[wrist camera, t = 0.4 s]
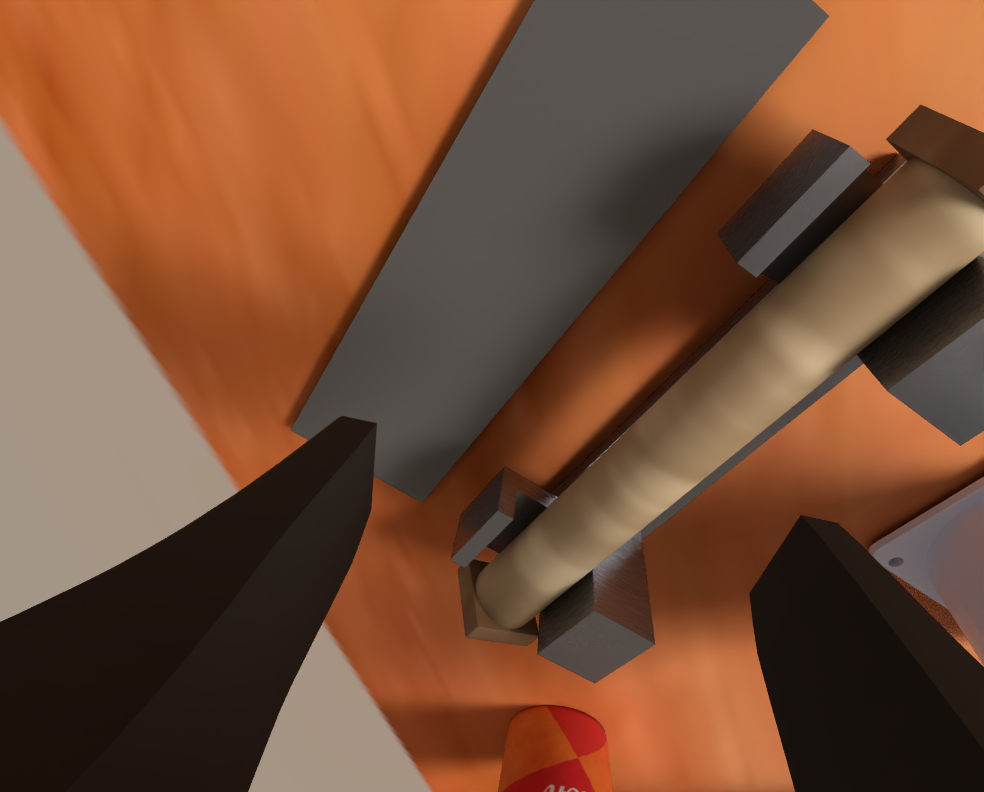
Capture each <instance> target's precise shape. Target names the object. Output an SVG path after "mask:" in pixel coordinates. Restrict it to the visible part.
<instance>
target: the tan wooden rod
mask: <svg viewBox="0 0 984 792" xmlns="http://www.w3.org/2000/svg"><path fill="white" fill-rule="evenodd" d="M886 140H887V141H888V142H889V143H890V144H891V145H892V146H893V147H894V148H895V149H896V150H897V151H898V152H899V153H900V154H901V155H902V156H903V157H904V158H905V159H906V160H907V162H906V163H905V164H904V165H903V166H902V167H901V168H900V169H899V170H898V171H896V172H895V173H894V174H893V175H892V176H891V177H890V178H889V179H888V180H887V181H886V182H885V183H884V184H883V185H882V186H881V187H880V188H879V189H878V190H877V191H876V192H875V193H874V194H873V195H872V196H871V197H869V198H868V199H867V200H866V201H865V202H864V203H863V204H862V205H861V206H860V207H859V208H858V209H857V210H856V211H855V212H854V213H853V214H852V215H851V216H850V217H849V218H848V219H847V220H846V221H845V222H843V223H842V224H841V225H840V226H839V227H838V228H837V229H836V230H835V231H834V232H833V233H832V234H831V235H830V236H829V237H828V238H827V239H826V240H825V241H824V242H823V243H822V244H821V245H820V246H819V247H818V248H816V249H815V250H814V251H813V252H812V253H811V254H810V255H809V256H808V257H807V258H806V259H805V260H804V261H803V262H802V263H801V264H800V265H799V266H798V267H797V268H796V269H795V270H794V271H793V272H792V273H790V274H789V275H788V276H787V277H786V278H785V279H784V280H783V281H782V282H781V283H780V284H779V285H778V286H777V287H776V288H775V289H774V290H773V291H772V292H771V293H770V294H769V295H768V296H767V297H766V298H765V299H763V300H762V301H761V302H760V303H759V304H758V305H757V306H756V307H755V308H754V309H753V310H752V311H751V312H750V313H749V314H748V315H747V316H746V317H745V318H744V319H743V320H742V321H741V322H740V323H739V324H737V325H736V326H735V327H734V328H733V329H732V330H731V331H730V332H729V333H728V334H727V335H726V336H725V337H724V338H723V339H722V340H721V341H720V342H719V343H718V344H717V345H716V346H715V347H714V348H713V349H712V350H710V351H709V352H708V353H707V354H706V355H705V356H704V357H703V358H702V359H701V360H700V361H699V362H698V363H697V364H696V365H695V366H694V367H693V368H692V369H691V370H690V371H689V372H688V373H687V374H686V375H684V376H683V377H682V378H681V379H680V380H679V381H678V382H677V383H676V384H675V385H674V386H673V387H672V388H671V389H670V390H669V391H668V392H667V393H666V394H665V395H664V396H663V397H662V398H661V399H660V400H659V401H657V402H656V403H655V404H654V405H653V406H652V407H651V408H650V409H649V410H648V411H647V412H646V413H645V414H644V415H643V416H642V417H641V418H640V419H639V420H638V421H637V422H636V423H635V424H634V425H633V426H631V427H630V428H629V429H628V430H627V431H626V432H625V433H624V434H623V435H622V436H621V437H620V438H619V439H618V440H617V441H616V442H615V443H614V444H613V445H612V446H611V447H610V448H609V449H608V450H607V451H606V452H604V453H603V454H602V455H601V456H600V457H599V458H598V459H597V460H596V461H595V462H594V463H593V464H592V465H591V466H590V467H589V468H588V469H587V470H586V471H585V472H584V473H583V474H582V475H581V476H580V477H578V478H577V479H576V480H575V481H574V482H573V483H572V484H571V485H570V486H569V487H568V488H567V489H566V490H565V491H564V492H563V493H562V494H561V495H560V496H559V497H558V498H557V499H556V500H555V501H554V502H553V503H551V504H550V505H549V506H548V507H547V508H546V509H545V510H544V511H543V512H542V513H541V514H540V515H539V516H538V517H537V518H536V519H535V520H534V521H533V522H532V523H531V524H530V525H529V526H528V527H527V528H525V529H524V530H523V531H522V532H521V533H520V534H519V535H518V536H517V537H516V538H515V539H514V540H513V541H512V542H511V543H510V544H509V545H508V546H507V547H506V548H505V549H504V550H503V551H502V552H501V553H500V554H498V555H497V556H496V557H495V558H494V559H493V560H492V561H491V562H490V563H487V562H483V561H478V560H474V559H473V560H472V561H471V562H470V563H469V564H468V565H467V566H466V567H465V568H464V567H463V566H461V567H460V568H459V569H458V576H459V585H460V593H461V602H462V610H463V619H464V627H465V636H466V638H473V639H480V640H487V641H494V642H501V643H508V644H516V645H523V646H527V645H528V644H530V643H531V642H532V641H534V640H535V639H536V638H537V637H538V635H539V632H538V627H537V623H536V618H535V616H536V615H537V614H538V613H540V612H541V611H542V610H543V609H544V608H546V607H547V606H548V605H549V604H551V603H552V602H553V601H554V600H556V599H557V598H558V597H559V596H560V595H562V594H563V593H564V592H565V591H567V590H568V589H569V588H570V587H571V586H573V585H574V584H575V583H576V582H578V581H579V580H580V579H581V578H583V577H584V576H585V575H586V574H587V573H589V572H590V571H591V570H592V569H594V568H595V567H596V566H597V565H599V564H600V563H601V562H602V561H603V560H605V559H606V558H607V557H608V556H610V555H611V554H612V553H613V552H615V551H616V550H617V549H618V548H619V547H621V546H622V545H623V544H624V543H626V542H627V541H628V540H629V539H631V538H632V537H633V536H634V535H635V534H637V533H638V532H639V531H640V530H642V529H643V528H644V527H645V526H647V525H648V524H649V523H650V522H651V521H653V520H654V519H655V518H656V517H658V516H659V515H660V514H661V513H663V512H664V511H665V510H666V509H667V508H669V507H670V506H671V505H672V504H674V503H675V502H676V501H677V500H679V499H680V498H681V497H682V496H683V495H685V494H686V493H687V492H688V491H690V490H691V489H692V488H693V487H694V486H696V485H697V484H698V483H699V482H701V481H702V480H703V479H704V478H706V477H707V476H708V475H709V474H710V473H712V472H713V471H714V470H715V469H717V468H718V467H719V466H720V465H722V464H723V463H724V462H725V461H726V460H728V459H729V458H730V457H731V456H733V455H734V454H735V453H736V452H738V451H739V450H740V449H741V448H742V447H744V446H745V445H746V444H747V443H749V442H750V441H751V440H752V439H754V438H755V437H756V436H757V435H758V434H760V433H761V432H762V431H763V430H765V429H766V428H767V427H768V426H770V425H771V424H772V423H773V422H774V421H776V420H777V419H778V418H779V417H781V416H782V415H783V414H784V413H786V412H787V411H788V410H789V409H790V408H792V407H793V406H794V405H795V404H797V403H798V402H799V401H800V400H801V399H803V398H804V397H805V396H806V395H808V394H809V393H810V392H811V391H813V390H814V389H815V388H816V387H817V386H819V385H820V384H821V383H822V382H824V381H825V380H826V379H827V378H829V377H830V376H831V375H832V374H833V373H835V372H836V371H837V370H838V369H840V368H841V367H842V366H843V365H845V364H846V363H847V362H848V361H849V360H851V359H852V358H853V357H854V356H856V355H857V354H858V353H859V352H861V351H862V350H863V349H864V348H865V347H867V346H868V345H869V344H870V343H872V342H873V341H874V340H875V339H877V338H878V337H879V336H880V335H881V334H883V333H884V332H885V331H886V330H888V329H889V328H890V327H891V326H893V325H894V324H895V323H896V322H897V321H899V320H900V319H901V318H902V317H904V316H905V315H906V314H907V313H909V312H910V311H911V310H912V309H913V308H915V307H916V306H917V305H918V304H920V303H921V302H922V301H923V300H924V299H926V298H927V297H928V296H929V295H931V294H932V293H933V292H934V291H936V290H937V289H938V288H939V287H940V286H942V285H943V284H944V283H945V282H947V281H948V280H949V279H950V278H952V277H953V276H954V275H955V274H956V273H958V272H959V271H960V270H961V269H963V268H964V267H965V266H966V265H968V264H969V263H970V262H971V261H972V260H974V259H975V258H976V257H977V256H979V255H980V254H981V253H982V252H984V133H983V132H981V131H978V130H976V129H974V128H972V127H969V126H967V125H965V124H963V123H961V122H958V121H956V120H954V119H952V118H949V117H947V116H945V115H943V114H940V113H938V112H936V111H934V110H931V109H929V108H927V107H925V106H922V105H920V106H919V107H918V108H917V109H916V110H915V111H914V112H913V113H912V114H911V115H910V116H909V117H908V118H907V119H906V120H905V121H904V122H903V123H902V124H901V125H900V126H899V127H898V128H897V129H896V130H895V131H894V132H893V133H892V134H891V135H890V136H889V137H888V138H887V139H886Z"/></svg>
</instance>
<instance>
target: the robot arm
mask: <svg viewBox="0 0 984 792" xmlns="http://www.w3.org/2000/svg"><path fill="white" fill-rule="evenodd" d="M376 433H377V423H374V422H369V421H365V420H360V419H356V418H351V417H346V416H341V417H339V418H337V419H336V420H334V421H333V422H332V423H330V424H329V425H328V426H326V427H325V428H324V429H323V430H321V431H320V432H319V433H318V434H316V435H315V436H314V437H312V438H311V439H310V440H309V441H307V442H306V443H305V444H303V445H302V446H301V447H299V448H298V449H297V450H296V451H294V452H293V453H292V454H290V455H289V456H288V457H286V458H285V459H284V460H282V461H281V462H280V463H278V464H277V465H275V466H274V467H273V468H271V469H270V470H268V471H267V472H266V473H264V474H263V475H262V476H260V477H259V478H257V479H256V480H255V481H253V482H252V483H250V484H249V485H248V486H246V487H245V488H243V489H242V490H240V491H239V492H238V493H236V494H235V495H233V496H232V497H230V498H228V499H227V500H225V501H224V502H222V503H221V504H219V505H218V506H216V507H215V508H213V509H211V510H210V511H208V512H207V513H205V514H204V515H202V516H201V517H199V518H198V519H196V520H195V521H193V522H191V523H190V524H188V525H187V526H185V527H184V528H182V529H180V530H179V531H177V532H175V533H173V534H172V535H170V536H169V537H167V538H165V539H163V540H162V541H160V542H158V543H156V544H155V545H153V546H151V547H150V548H148V549H146V550H144V551H142V552H140V553H139V554H137V555H135V556H133V557H131V558H130V559H128V560H126V561H124V562H122V563H121V564H119V565H117V566H115V567H113V568H111V569H109V570H107V571H105V572H103V573H101V574H99V575H98V576H95V577H94V578H91V579H90V580H87V581H85V582H83V583H81V584H80V585H77V586H75V587H73V588H71V589H69V590H67V591H65V592H63V593H61V594H59V595H56V596H54V597H52V598H50V599H48V600H46V601H44V602H42V603H40V604H38V605H36V606H33V607H31V608H29V609H27V610H25V611H23V612H21V613H19V614H17V615H15V616H12V617H10V618H8V619H6V620H3V621H1V622H0V792H248V790H249V788H250V785H251V783H252V780H253V778H254V775H255V772H256V770H257V767H258V765H259V762H260V760H261V757H262V755H263V752H264V750H265V747H266V744H267V742H268V739H269V737H270V734H271V731H272V729H273V727H274V724H275V722H276V719H277V716H278V714H279V712H280V709H281V707H282V705H283V703H284V701H285V698H286V696H287V694H288V692H289V689H290V687H291V685H292V683H293V681H294V679H295V677H296V675H297V673H298V671H299V669H300V667H301V665H302V663H303V661H304V659H305V657H306V655H307V653H308V651H309V649H310V647H311V645H312V643H313V641H314V639H315V637H316V635H317V633H318V631H319V629H320V627H321V625H322V623H323V621H324V619H325V617H326V615H327V613H328V611H329V609H330V607H331V605H332V603H333V601H334V599H335V597H336V595H337V593H338V591H339V589H340V587H341V585H342V583H343V581H344V578H345V576H346V574H347V572H348V570H349V568H350V566H351V564H352V562H353V559H354V556H355V554H356V551H357V548H358V546H359V543H360V540H361V537H362V535H363V532H364V529H365V526H366V523H367V520H368V518H369V515H370V512H371V505H372V490H373V476H374V462H375V447H376ZM886 569H887V570H888V571H890V572H891V573H893V574H894V575H896V576H897V577H899V578H900V579H902V580H903V581H905V582H906V583H908V584H910V585H911V586H913V587H914V588H916V589H917V590H919V591H920V592H922V593H923V594H925V595H926V596H928V597H929V598H931V599H933V600H934V601H936V602H937V603H939V604H940V605H942V606H943V607H945V608H946V609H948V610H949V612H950V613H951V615H952V616H953V618H954V619H955V621H956V623H957V624H958V626H959V627H960V629H961V630H962V632H963V634H964V635H965V637H966V638H967V640H968V641H969V643H970V645H971V646H972V648H973V649H974V651H975V652H976V654H977V656H978V657H979V659H980V660H981V662H982V663H983V665H984V477H982V478H981V479H979V480H977V481H976V482H974V483H972V484H971V485H969V486H967V487H966V488H964V489H962V490H961V491H959V492H958V493H956V494H954V495H953V496H951V497H949V498H948V499H946V500H944V501H943V502H941V503H939V504H938V505H936V506H935V507H933V508H931V509H930V510H928V511H926V512H925V513H923V514H921V515H920V516H918V517H916V518H915V519H913V520H911V521H910V522H908V523H907V524H905V525H903V526H902V527H900V528H898V529H897V530H895V531H893V532H892V533H890V534H888V535H887V536H885V537H883V538H882V539H880V540H879V541H877V542H875V543H874V544H873V545H872V546H870V548H869V552H868V551H867V550H866V549H865V548H864V547H863V546H862V545H861V544H860V543H859V542H858V541H856V540H855V539H854V538H853V537H852V536H851V535H850V534H849V533H848V532H847V531H846V530H845V529H843V528H842V527H841V526H840V525H839V524H838V523H834V522H830V521H825V520H820V519H816V518H811V517H807V516H802V515H801V516H800V517H799V519H798V520H797V522H796V523H795V525H794V526H793V528H792V529H791V531H790V532H789V534H788V536H787V537H786V539H785V540H784V542H783V543H782V545H781V546H780V548H779V549H778V551H777V552H776V554H775V555H774V557H773V558H772V560H771V561H770V563H769V564H768V566H767V568H766V569H765V571H764V572H763V574H762V575H761V577H760V578H759V580H758V581H757V583H756V584H755V586H754V587H753V589H752V590H751V592H750V602H751V611H752V619H753V627H754V634H755V641H756V647H757V653H758V657H759V661H760V665H761V669H762V673H763V676H764V680H765V684H766V688H767V691H768V695H769V699H770V703H771V706H772V710H773V713H774V717H775V720H776V724H777V728H778V731H779V735H780V738H781V742H782V746H783V749H784V753H785V756H786V760H787V764H788V767H789V771H790V774H791V778H792V782H793V785H794V789H795V792H984V667H983V666H982V665H981V664H980V663H979V662H978V661H977V660H976V659H975V658H974V657H973V656H972V655H971V654H970V653H969V652H968V651H967V650H965V649H964V648H963V647H962V646H961V645H960V644H959V643H958V642H957V641H956V640H955V639H954V638H953V637H952V636H951V635H950V634H949V633H948V632H947V631H946V630H945V629H944V628H943V627H942V626H941V625H940V624H939V623H938V622H937V621H936V620H935V619H934V618H933V617H932V616H931V615H930V614H929V613H928V612H927V611H926V610H925V609H924V608H923V607H922V606H921V605H920V604H919V603H918V602H917V601H916V600H915V599H914V598H913V597H912V596H911V594H910V593H909V592H908V591H907V590H906V589H905V588H904V587H903V586H902V585H901V584H900V583H899V582H898V581H897V580H896V579H895V578H894V577H893V576H892V575H891V574H890V573H889V572H888V571H887V570H886Z"/></svg>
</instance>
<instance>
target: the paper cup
mask: <svg viewBox="0 0 984 792" xmlns="http://www.w3.org/2000/svg"><path fill="white" fill-rule="evenodd" d="M498 792H613V790H612V780H611V771H610V762H609V754H608V746H607V739H606V734H605V730H604V728H603V727H602V725H601V724H600V723H599V722H598V721H597V720H596V719H594V718H593V717H591V716H590V715H588V714H586V713H584V712H581V711H578V710H575V709H572V708H567V707H562V706H537V707H532V708H528V709H525V710H523V711H521V712H519V713H518V714H516V715H515V716H514V717H513V718H512V720H511V722H510V725H509V729H508V734H507V739H506V745H505V751H504V757H503V763H502V769H501V775H500V781H499V788H498Z"/></svg>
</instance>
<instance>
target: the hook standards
mask: <svg viewBox="0 0 984 792" xmlns="http://www.w3.org/2000/svg"><path fill="white" fill-rule="evenodd" d="M906 162H907V160H906V159H905V158H904V157H903V156H902V155H901V154H900V153H898V154H897V155H896V156H895V157H894V158H893V159H892V160H891V161H890V162H889V163H888V164H887V165H886V166H885V167H884V168H883V169H882V170H881V171H880V172H879V173H878V174H877V175H876V176H875V177H874V176H872V175H871V174H870V173H869V172H868V171H867V170H865V169H866V168H867V167H868V166H869V165H870V163H869V162H868V161H867V160H866V159H865V158H863V157H862V156H861V155H860V154H859V153H858V152H856V151H855V150H854V149H853V148H852V147H851V146H849V145H847V144H844V143H842V142H840V141H838V140H835V139H833V138H831V137H829V136H826V135H824V134H822V133H820V132H817V131H815V130H812V131H811V132H810V133H809V134H808V135H807V136H806V137H805V138H804V139H803V140H802V142H801V143H800V144H799V145H798V146H797V147H796V148H795V149H794V150H793V151H792V152H791V154H790V155H789V156H788V157H787V158H786V159H785V160H784V161H783V162H782V163H781V165H780V166H779V167H778V168H777V169H776V170H775V171H774V172H773V173H772V174H771V175H770V177H769V178H768V179H767V180H766V181H765V182H764V183H763V184H762V185H761V186H760V188H759V189H758V190H757V191H756V192H755V193H754V194H753V195H752V196H751V197H750V198H749V200H748V201H747V202H746V203H745V204H744V205H743V206H742V207H741V208H740V209H739V211H738V212H737V213H736V214H735V215H734V216H733V217H732V218H731V219H730V220H729V221H728V223H727V224H726V225H725V226H724V227H723V228H722V229H721V230H720V231H719V232H718V236H719V237H720V239H721V240H722V242H723V243H724V245H725V246H726V247H727V249H728V250H729V252H730V253H731V255H732V256H733V258H734V259H735V261H736V262H737V263H738V264H739V265H740V266H741V267H743V268H744V269H745V270H747V271H748V272H749V273H751V274H752V275H753V276H755V277H756V278H757V277H758V276H759V275H760V274H761V273H763V274H765V275H766V276H767V277H768V278H770V280H769V281H768V282H766V283H765V284H764V285H763V286H762V287H761V288H760V289H759V290H758V291H757V292H756V293H755V294H754V295H753V296H752V297H751V298H750V299H749V300H748V301H747V302H746V303H745V304H744V305H743V306H742V307H741V308H740V309H739V310H738V311H737V312H736V313H735V314H734V315H733V316H732V317H731V318H730V319H729V320H728V321H727V322H726V323H725V324H724V325H723V326H722V327H720V328H719V329H718V330H717V331H716V332H715V333H714V334H713V335H712V336H711V337H710V338H709V339H708V340H707V341H706V342H705V343H704V344H703V345H702V346H701V347H700V348H699V349H698V350H697V351H696V352H695V353H694V354H693V355H692V356H691V357H690V358H689V359H688V360H687V361H686V362H685V363H684V364H683V365H682V366H681V367H680V368H679V369H678V370H677V371H676V372H674V373H673V374H672V375H671V376H670V377H669V378H668V379H667V380H666V381H665V382H664V383H663V384H662V385H661V386H660V387H659V388H658V389H657V390H656V391H655V392H654V393H653V394H652V395H651V396H650V397H649V398H648V399H647V400H646V401H645V402H644V403H643V404H642V405H641V406H640V407H639V408H638V409H637V410H636V411H635V412H634V413H633V414H632V415H631V416H630V417H628V418H627V419H626V420H625V421H624V422H623V423H622V424H621V425H620V426H619V427H618V428H617V429H616V430H615V431H614V432H613V433H612V434H611V435H610V436H609V437H608V438H607V439H606V440H605V441H604V442H603V443H602V444H601V445H600V446H599V447H598V448H597V449H596V450H595V451H594V452H593V453H592V454H591V455H590V456H589V457H588V458H587V459H586V460H585V461H584V462H582V463H581V464H580V465H579V466H578V467H577V468H576V469H575V470H574V471H573V472H572V473H571V474H570V475H569V476H568V477H567V478H566V479H565V480H564V481H563V482H562V483H561V484H560V485H559V486H558V487H557V488H556V489H555V490H554V491H553V492H552V493H550V492H548V491H546V490H545V489H543V488H541V487H539V486H538V485H536V484H534V483H533V482H531V481H529V480H528V479H526V478H524V477H522V476H521V475H519V474H517V473H516V472H514V471H512V470H511V469H509V468H507V467H504V468H503V469H502V470H501V471H500V472H499V473H498V474H497V475H496V477H495V478H494V479H493V480H492V481H491V482H490V483H489V484H488V485H487V486H486V488H485V489H484V490H483V491H482V492H481V493H480V494H479V495H478V496H477V497H476V498H475V500H474V501H473V502H472V503H471V504H470V505H469V506H468V507H467V508H466V509H465V511H464V512H463V513H462V514H461V516H460V520H459V525H458V529H457V533H456V537H455V542H454V546H453V550H452V554H451V559H450V560H451V561H453V562H455V563H457V564H459V565H461V566H463V567H464V568H465V567H466V566H467V565H468V564H469V563H470V562H471V561H472V560H473V559H474V558H475V557H476V556H477V555H478V554H479V553H480V552H481V551H482V550H483V549H484V548H485V547H486V546H487V547H489V548H491V549H493V550H494V551H496V552H498V553H501V552H502V551H503V550H504V549H505V548H506V547H507V546H508V545H509V544H510V543H511V542H512V541H513V540H514V539H515V538H516V537H517V536H518V535H519V534H520V533H521V532H522V531H523V530H524V529H525V528H527V527H528V526H529V525H530V524H531V523H532V522H533V521H534V520H535V519H536V518H537V517H538V516H539V515H540V514H541V513H542V512H543V511H544V510H545V509H546V508H547V507H548V506H549V505H550V504H551V503H553V502H554V501H555V500H556V499H557V498H558V497H559V496H560V495H561V494H562V493H563V492H564V491H565V490H566V489H567V488H568V487H569V486H570V485H571V484H572V483H573V482H574V481H575V480H576V479H577V478H578V477H580V476H581V475H582V474H583V473H584V472H585V471H586V470H587V469H588V468H589V467H590V466H591V465H592V464H593V463H594V462H595V461H596V460H597V459H598V458H599V457H600V456H601V455H602V454H603V453H604V452H606V451H607V450H608V449H609V448H610V447H611V446H612V445H613V444H614V443H615V442H616V441H617V440H618V439H619V438H620V437H621V436H622V435H623V434H624V433H625V432H626V431H627V430H628V429H629V428H630V427H631V426H633V425H634V424H635V423H636V422H637V421H638V420H639V419H640V418H641V417H642V416H643V415H644V414H645V413H646V412H647V411H648V410H649V409H650V408H651V407H652V406H653V405H654V404H655V403H656V402H657V401H659V400H660V399H661V398H662V397H663V396H664V395H665V394H666V393H667V392H668V391H669V390H670V389H671V388H672V387H673V386H674V385H675V384H676V383H677V382H678V381H679V380H680V379H681V378H682V377H683V376H684V375H686V374H687V373H688V372H689V371H690V370H691V369H692V368H693V367H694V366H695V365H696V364H697V363H698V362H699V361H700V360H701V359H702V358H703V357H704V356H705V355H706V354H707V353H708V352H709V351H710V350H712V349H713V348H714V347H715V346H716V345H717V344H718V343H719V342H720V341H721V340H722V339H723V338H724V337H725V336H726V335H727V334H728V333H729V332H730V331H731V330H732V329H733V328H734V327H735V326H736V325H737V324H739V323H740V322H741V321H742V320H743V319H744V318H745V317H746V316H747V315H748V314H749V313H750V312H751V311H752V310H753V309H754V308H755V307H756V306H757V305H758V304H759V303H760V302H761V301H762V300H763V299H765V298H766V297H767V296H768V295H769V294H770V293H771V292H772V291H773V290H774V289H775V288H776V287H777V286H778V285H779V284H780V283H781V282H782V281H783V280H784V279H785V278H786V277H787V276H788V275H789V274H790V273H792V272H793V271H794V270H795V269H796V268H797V267H798V266H799V265H800V264H801V263H802V262H803V261H804V260H805V259H806V258H807V257H808V256H809V255H810V254H811V253H812V252H813V251H814V250H815V249H816V248H818V247H819V246H820V245H821V244H822V243H823V242H824V241H825V240H826V239H827V238H828V237H829V236H830V235H831V234H832V233H833V232H834V231H835V230H836V229H837V228H838V227H839V226H840V225H841V224H842V223H843V222H845V221H846V220H847V219H848V218H849V217H850V216H851V215H852V214H853V213H854V212H855V211H856V210H857V209H858V208H859V207H860V206H861V205H862V204H863V203H864V202H865V201H866V200H867V199H868V198H869V197H871V196H872V195H873V194H874V193H875V192H876V191H877V190H878V189H879V188H880V187H881V186H882V185H883V184H884V183H885V182H886V181H887V180H888V179H889V178H890V177H891V176H892V175H893V174H894V173H895V172H896V171H898V170H899V169H900V168H901V167H902V166H903V165H904V164H905V163H906ZM863 363H864V364H865V365H866V367H867V368H868V369H869V370H870V371H871V372H872V374H873V375H874V376H875V377H876V378H877V380H878V381H879V382H880V383H881V384H882V385H883V387H884V388H885V389H886V390H887V391H888V392H889V393H891V394H892V395H893V396H895V397H896V398H897V399H899V400H900V401H901V402H903V403H904V404H905V405H907V406H908V407H909V408H911V409H912V410H913V411H915V412H916V413H917V414H919V415H920V416H921V417H923V418H924V419H925V420H927V421H928V422H929V423H931V424H932V425H933V426H935V427H936V428H937V429H939V430H940V431H941V432H943V433H944V434H945V435H947V436H948V437H949V438H951V439H952V440H953V441H955V442H956V443H957V444H959V445H960V446H961V445H962V444H964V443H966V442H967V441H969V440H970V439H972V438H973V437H975V436H976V435H978V434H979V433H981V432H982V431H984V252H982V253H981V254H980V255H979V256H977V257H976V258H975V259H974V260H972V261H971V262H970V263H969V264H968V265H966V266H965V267H964V268H963V269H961V270H960V271H959V272H958V273H956V274H955V275H954V276H953V277H952V278H950V279H949V280H948V281H947V282H945V283H944V284H943V285H942V286H940V287H939V288H938V289H937V290H936V291H934V292H933V293H932V294H931V295H929V296H928V297H927V298H926V299H924V300H923V301H922V302H921V303H920V304H918V305H917V306H916V307H915V308H913V309H912V310H911V311H910V312H909V313H907V314H906V315H905V316H904V317H902V318H901V319H900V320H899V321H897V322H896V323H895V324H894V325H893V326H891V327H890V328H889V329H888V330H886V331H885V332H884V333H883V334H881V335H880V336H879V337H878V338H877V339H875V340H874V341H873V342H872V343H870V344H869V345H868V346H867V347H865V348H864V349H863V350H862V351H861V352H859V353H858V354H857V355H856V356H854V357H853V358H852V359H851V360H849V361H848V362H847V363H846V364H845V365H843V366H842V367H841V368H840V369H838V370H837V371H836V372H835V373H833V374H832V375H831V376H830V377H829V378H827V379H826V380H825V381H824V382H822V383H821V384H820V385H819V386H817V387H816V388H815V389H814V390H813V391H811V392H810V393H809V394H808V395H806V396H805V397H804V398H803V399H801V400H800V401H799V402H798V403H797V404H795V405H794V406H793V407H792V408H790V409H789V410H788V411H787V412H786V413H784V414H783V415H782V416H781V417H779V418H778V419H777V420H776V421H774V422H773V423H772V424H771V425H770V426H768V427H767V428H766V429H765V430H763V431H762V432H761V433H760V434H758V435H757V436H756V437H755V438H754V439H752V440H751V441H750V442H749V443H747V444H746V445H745V446H744V447H742V448H741V449H740V450H739V451H738V452H736V453H735V454H734V455H733V456H731V457H730V458H729V459H728V460H726V461H725V462H724V463H723V464H722V465H720V466H719V467H718V468H717V469H715V470H714V471H713V472H712V473H710V474H709V475H708V476H707V477H706V478H704V479H703V480H702V481H701V482H699V483H698V484H697V485H696V486H694V487H693V488H692V489H691V490H690V491H688V492H687V493H686V494H685V495H683V496H682V497H681V498H680V499H679V500H677V501H676V502H675V503H674V504H672V505H671V506H670V507H669V508H667V509H666V510H665V511H664V512H663V513H661V514H660V515H659V516H658V517H656V518H655V519H654V520H653V521H651V522H650V523H649V524H648V525H647V526H645V527H644V528H643V529H642V530H640V531H639V532H638V533H637V534H635V535H634V536H633V537H632V538H631V539H629V540H628V541H627V542H626V543H624V544H623V545H622V546H621V547H619V548H618V549H617V550H616V551H615V552H613V553H612V554H611V555H610V556H608V557H607V558H606V559H605V560H603V561H602V562H601V563H600V564H599V565H597V566H596V567H595V568H594V569H592V570H591V571H590V572H589V573H587V574H586V575H585V576H584V577H583V578H581V579H580V580H579V581H578V582H576V583H575V584H574V585H573V586H571V587H570V588H569V589H568V590H567V591H565V592H564V593H563V594H562V595H560V596H559V597H558V598H557V599H556V600H554V601H553V602H552V603H551V604H549V605H548V606H547V607H546V608H544V609H543V610H542V611H541V612H540V618H539V635H538V651H537V654H538V655H540V656H542V657H544V658H546V659H548V660H550V661H552V662H554V663H556V664H558V665H560V666H562V667H564V668H566V669H568V670H570V671H572V672H574V673H575V674H577V675H579V676H581V677H583V678H585V679H587V680H589V681H591V682H593V683H596V682H598V681H599V680H601V679H602V678H604V677H605V676H607V675H608V674H610V673H611V672H613V671H615V670H616V669H618V668H619V667H621V666H622V665H624V664H625V663H627V662H628V661H630V660H631V659H633V658H635V657H636V656H638V655H639V654H641V653H642V652H644V651H645V650H647V649H648V648H650V647H652V646H653V645H655V639H654V631H653V623H652V616H651V608H650V600H649V592H648V584H647V576H646V568H645V561H644V553H643V545H642V540H643V539H644V538H645V537H647V536H648V535H649V534H650V533H652V532H653V531H654V530H655V529H657V528H658V527H659V526H660V525H662V524H663V523H664V522H665V521H667V520H668V519H669V518H670V517H672V516H673V515H674V514H675V513H677V512H678V511H679V510H680V509H682V508H683V507H684V506H685V505H687V504H688V503H689V502H690V501H692V500H693V499H694V498H696V497H697V496H698V495H699V494H701V493H702V492H703V491H704V490H706V489H707V488H708V487H709V486H711V485H712V484H713V483H714V482H716V481H717V480H718V479H719V478H721V477H722V476H723V475H724V474H726V473H727V472H728V471H729V470H731V469H732V468H733V467H734V466H736V465H737V464H738V463H739V462H741V461H742V460H743V459H744V458H746V457H747V456H748V455H749V454H751V453H752V452H753V451H754V450H756V449H757V448H758V447H759V446H761V445H762V444H763V443H764V442H766V441H767V440H768V439H769V438H771V437H772V436H773V435H774V434H776V433H777V432H778V431H779V430H781V429H782V428H783V427H784V426H786V425H787V424H788V423H789V422H791V421H792V420H793V419H794V418H796V417H797V416H798V415H799V414H801V413H802V412H803V411H804V410H806V409H807V408H808V407H809V406H811V405H812V404H813V403H814V402H816V401H817V400H818V399H820V398H821V397H822V396H823V395H825V394H826V393H827V392H828V391H830V390H831V389H832V388H833V387H835V386H836V385H837V384H838V383H840V382H841V381H842V380H843V379H845V378H846V377H847V376H848V375H850V374H851V373H852V372H853V371H855V370H856V369H857V368H858V367H860V366H861V365H862V364H863Z"/></svg>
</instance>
